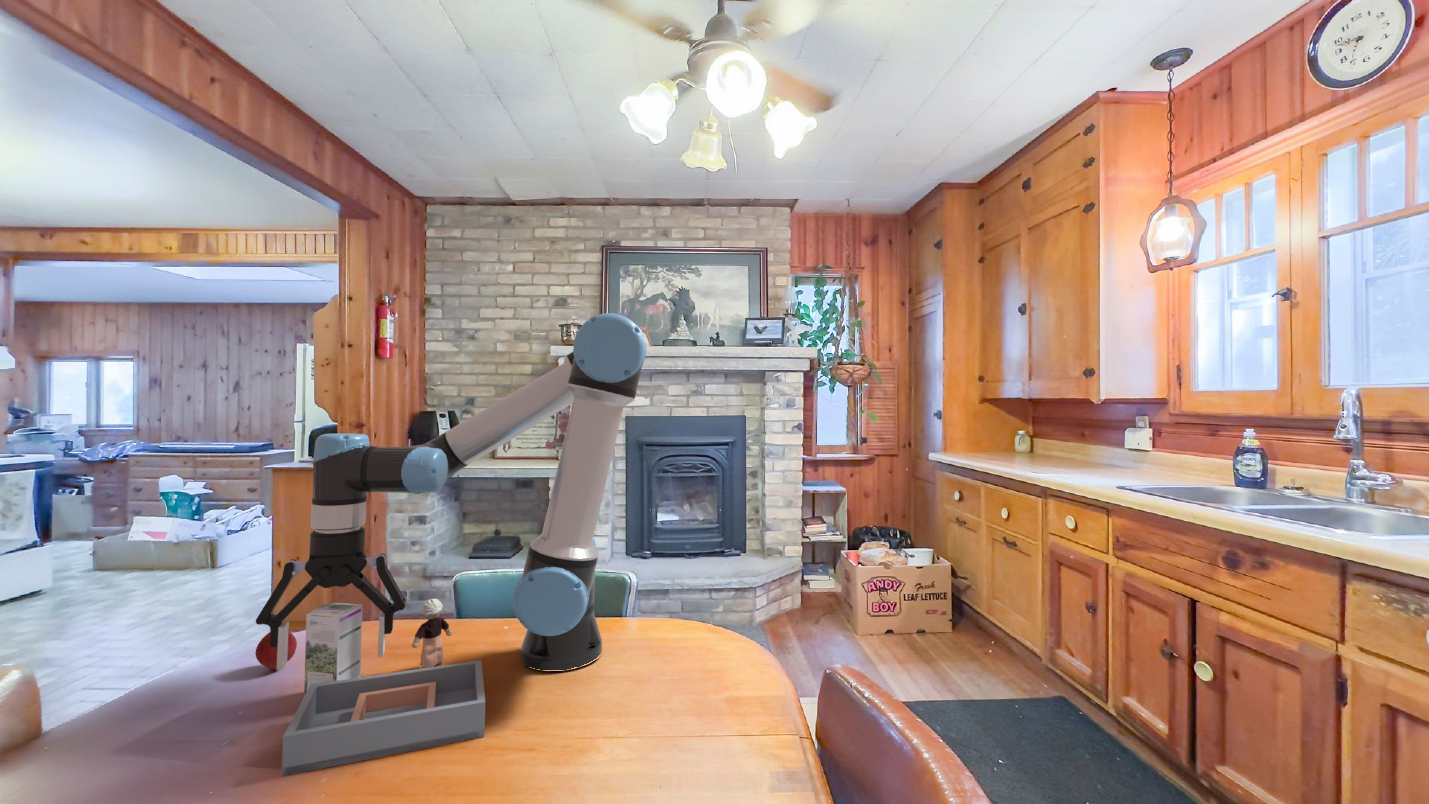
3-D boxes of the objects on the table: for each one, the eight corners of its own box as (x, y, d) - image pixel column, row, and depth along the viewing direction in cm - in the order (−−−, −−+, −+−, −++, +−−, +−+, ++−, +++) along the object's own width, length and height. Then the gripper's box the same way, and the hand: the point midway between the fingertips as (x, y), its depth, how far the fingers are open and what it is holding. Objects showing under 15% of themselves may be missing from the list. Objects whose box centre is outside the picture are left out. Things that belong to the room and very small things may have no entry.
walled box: (480, 689, 97) (481, 660, 97) (484, 736, 83) (485, 701, 83) (309, 718, 87) (310, 684, 87) (281, 776, 73) (283, 736, 73)
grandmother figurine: (436, 660, 108) (438, 592, 108) (454, 662, 107) (456, 594, 107) (404, 678, 100) (406, 605, 101) (422, 681, 99) (424, 607, 99)
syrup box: (361, 689, 96) (364, 602, 96) (335, 708, 90) (338, 614, 90) (330, 687, 96) (333, 600, 97) (301, 705, 91) (304, 612, 91)
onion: (303, 665, 104) (305, 621, 104) (270, 679, 99) (271, 632, 99) (281, 660, 106) (282, 616, 106) (247, 673, 101) (248, 627, 101)
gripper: (425, 520, 102) (420, 640, 102) (250, 528, 92) (245, 661, 92) (422, 528, 95) (417, 657, 95) (234, 538, 85) (227, 682, 85)
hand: (333, 659), depth 93 cm, fingers open, 13 cm apart
